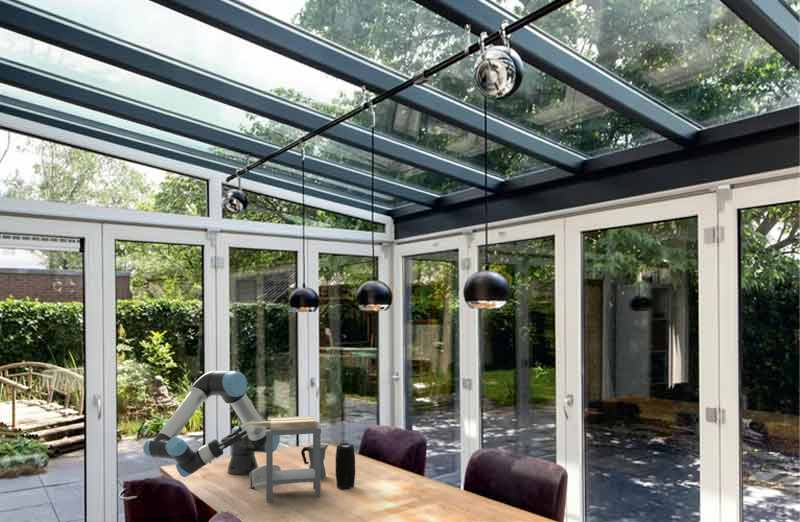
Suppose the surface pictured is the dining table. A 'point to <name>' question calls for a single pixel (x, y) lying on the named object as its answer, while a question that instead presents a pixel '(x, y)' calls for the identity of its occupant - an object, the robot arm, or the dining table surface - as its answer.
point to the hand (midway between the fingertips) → (254, 424)
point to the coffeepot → (310, 451)
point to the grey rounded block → (260, 477)
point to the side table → (296, 474)
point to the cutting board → (286, 423)
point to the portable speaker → (345, 466)
